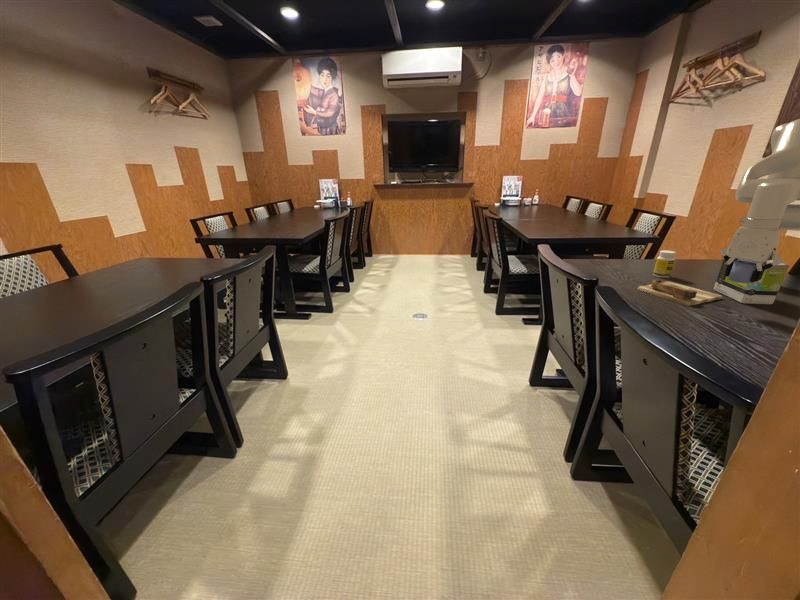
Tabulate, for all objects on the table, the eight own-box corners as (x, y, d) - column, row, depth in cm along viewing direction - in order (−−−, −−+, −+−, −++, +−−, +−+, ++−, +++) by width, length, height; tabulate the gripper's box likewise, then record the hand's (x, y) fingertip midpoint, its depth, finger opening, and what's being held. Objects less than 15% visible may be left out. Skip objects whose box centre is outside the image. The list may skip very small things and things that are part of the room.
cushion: (735, 275, 110) (741, 258, 108) (758, 281, 105) (765, 263, 102) (723, 278, 108) (729, 261, 106) (746, 284, 103) (753, 266, 101)
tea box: (774, 305, 113) (791, 264, 107) (740, 303, 115) (755, 263, 109) (741, 290, 126) (755, 253, 121) (711, 289, 128) (724, 253, 123)
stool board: (667, 283, 136) (670, 273, 134) (721, 298, 119) (725, 286, 118) (637, 289, 131) (640, 278, 130) (688, 306, 114) (692, 293, 113)
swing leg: (695, 297, 116) (698, 289, 115) (688, 299, 116) (690, 291, 114) (655, 285, 130) (657, 278, 129) (648, 286, 129) (650, 279, 128)
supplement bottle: (666, 278, 142) (673, 254, 138) (649, 275, 147) (656, 251, 143) (672, 276, 145) (680, 251, 141) (656, 273, 150) (663, 249, 146)
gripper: (720, 221, 106) (703, 273, 113) (792, 229, 91) (768, 288, 98) (735, 218, 108) (718, 269, 115) (808, 226, 93) (783, 284, 100)
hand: (741, 278), depth 106 cm, fingers closed on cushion, 6 cm apart
